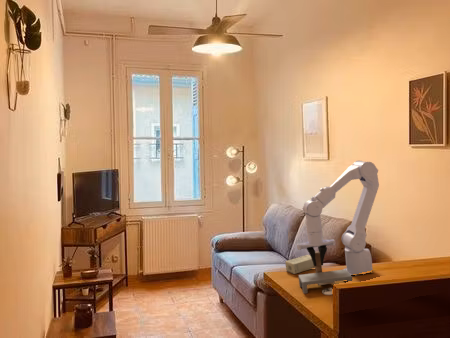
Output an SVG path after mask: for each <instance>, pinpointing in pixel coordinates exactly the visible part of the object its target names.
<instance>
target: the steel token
mask: <svg viewBox="0 0 450 338" xmlns="http://www.w3.org/2000/svg"><path fill="white" fill-rule="evenodd" d="M332 288H333V287H326V288H323V289H322V290H321V293H322V294H323V295H325V296H333V295H332Z"/></svg>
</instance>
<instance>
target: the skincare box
mask: <svg viewBox="0 0 450 338" xmlns="http://www.w3.org/2000/svg"><path fill="white" fill-rule="evenodd" d="M284 264H285V271H286V272H288V273H290V274H294V275H296V274H299V273H302V272H306V271H308V270H313V269H315V266H314V265H313V261H312V258H311V256H310V254H306V255H301V256H299V257H296V258H292V259H288V260H286V261H285V263H284Z"/></svg>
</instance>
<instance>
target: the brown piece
mask: <svg viewBox="0 0 450 338" xmlns="http://www.w3.org/2000/svg"><path fill="white" fill-rule="evenodd" d="M315 259H316V266H315V268H314V269H315V271H314V272H315V273H319V272H323V267H322V266H323V265H322V266H321V258H320V252H319V250H318V251H317V250H315ZM335 282H336V281H335ZM335 282H327V283H319V284H317V285H318V286H323V285H331V284H336V283H335Z"/></svg>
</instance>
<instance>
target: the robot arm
mask: <svg viewBox="0 0 450 338" xmlns="http://www.w3.org/2000/svg"><path fill="white" fill-rule="evenodd" d="M378 173H379V169H378V168H377V166H376V165H375V164H374V163H373V162H371V161H363V160H356V161H354V162H353V163H352V164H351V165H349V166H348V167H347V168H346V169H345V171H343V172H342V173H341V175H339V176H338V178H337V179H336V180H335V181H334V182H333V183H331V184H330V185H329V186H324V187H320V188H319V191H318V192H317V193H316V194H315V195H314V196H311V197H310V199H309V200H306V201H305V202H304V203H303V206H302V211H303V212H304V213H305V223H306V233H307V241H304V242H300V243H296V247H297V250H298V251H299V250H300V251H301V250H305V249H306V250H307V252H308V255H310V256H311V258H312V261H313V265H314V266H316V259H315V251H316V250H315V248H318V252H320V258H321V266H324V259H325V255H326V253H327V251H328V246H336V240H335V239H334V238H333V239H324V237H323V236H324V235H323V225H322V224H323V223H322V219H321V215H322V213H323V209H324V208H325V207H326V206H328V205H329V204H330V203H331V202H332V201H333V200H334V199H335V198H336V194H337V192H339V191H340V190H341V189H342V188H344V187H345V186H346V185H347V184H348V183H350V182H351V181H353V180H359V181H360V183H361V185H362V186H363V187H362V191H361V193H360V197H359V199H358V202H357V205H356V209H355V212H354V214H353V217H352V221H351V224H349V226H348V225H347V228H346V230H345V231H344V233H342V235H341V242H342V244H343V245H344V254H345V256H344V257H345V266H346V268H345V269H346V270H347V271H348V272H349V273H350V274H351V275H353V274H359V273H362V272H367V271H371V270H373V259H372V254H371V250H370V249H369V248H366V245H367V243H366V242H367V241H366V238H367V233H366V226H367V223H368V220H369V217H370V214H371V212H372V211H371V210H372V209H373V206H374V202H375V199H376V196H377V193H378V190H379V187H380V184H379V177H378V176H379V175H378Z"/></svg>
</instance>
